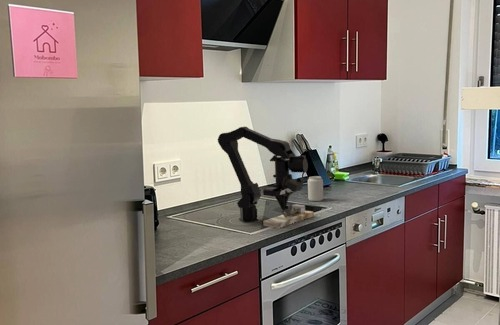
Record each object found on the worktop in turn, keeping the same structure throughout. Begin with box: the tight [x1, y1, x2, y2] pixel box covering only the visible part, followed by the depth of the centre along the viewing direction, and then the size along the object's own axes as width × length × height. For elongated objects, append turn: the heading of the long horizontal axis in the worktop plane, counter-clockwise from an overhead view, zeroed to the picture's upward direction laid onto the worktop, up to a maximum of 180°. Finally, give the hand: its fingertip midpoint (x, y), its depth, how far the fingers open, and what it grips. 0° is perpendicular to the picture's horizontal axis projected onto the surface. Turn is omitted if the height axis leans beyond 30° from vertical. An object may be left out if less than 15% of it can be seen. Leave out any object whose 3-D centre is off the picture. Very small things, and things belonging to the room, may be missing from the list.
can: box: [307, 175, 324, 202], centre depth 245 cm, size 8×8×12 cm
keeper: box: [291, 203, 306, 214], centre depth 209 cm, size 3×5×3 cm, turn 48°
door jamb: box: [263, 210, 315, 229], centre depth 205 cm, size 24×8×2 cm, turn 138°
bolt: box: [281, 204, 299, 217], centre depth 206 cm, size 10×3×5 cm, turn 138°
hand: (283, 209), depth 202 cm, fingers closed
